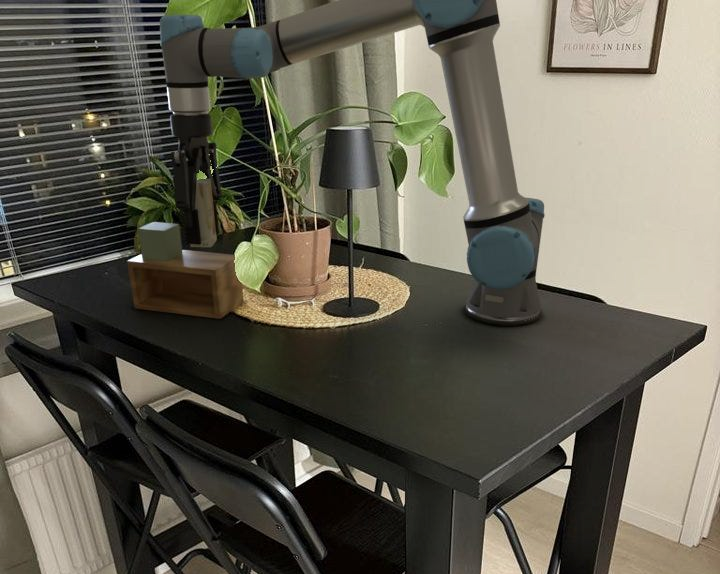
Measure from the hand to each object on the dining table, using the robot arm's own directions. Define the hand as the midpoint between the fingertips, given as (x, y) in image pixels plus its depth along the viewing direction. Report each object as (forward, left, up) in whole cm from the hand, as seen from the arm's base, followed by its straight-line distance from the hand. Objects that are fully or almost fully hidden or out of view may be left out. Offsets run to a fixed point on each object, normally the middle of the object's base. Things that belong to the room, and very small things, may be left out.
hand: (203, 238), depth 151 cm
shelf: (0, -5, -14) cm, 15 cm away
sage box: (0, -10, -4) cm, 11 cm away
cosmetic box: (0, 0, -1) cm, 1 cm away
